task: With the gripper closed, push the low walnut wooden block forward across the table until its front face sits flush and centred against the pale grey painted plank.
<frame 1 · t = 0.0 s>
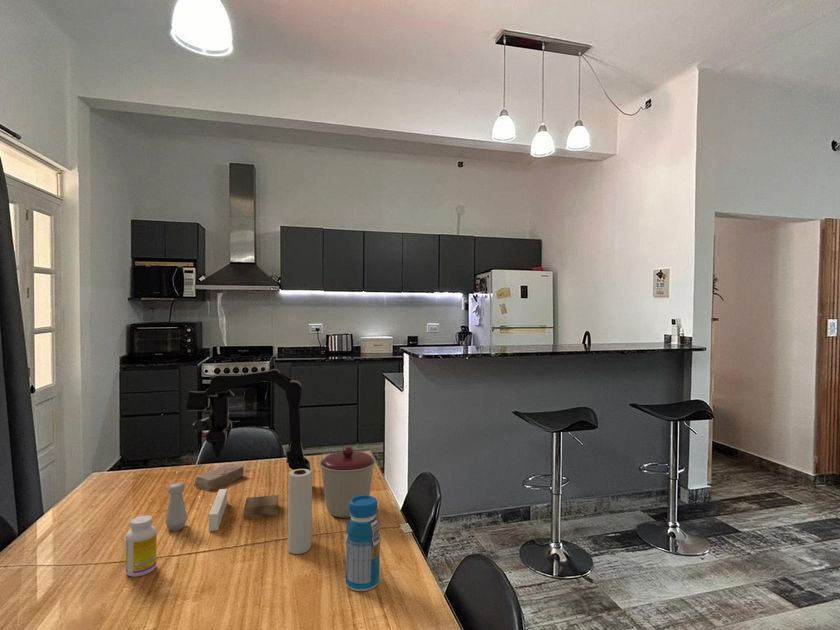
hand: (219, 453, 164), 15 cm above the table, tool pointing down, fingers open, 9 cm apart
supplement bottle: (141, 571, 116), on the table
paper towel roll: (301, 549, 128), on the table
salt shaker: (176, 528, 139), on the table
plank: (218, 516, 147), on the table
brick: (219, 483, 177), on the table
beverage bottle: (362, 583, 112), on the table
walnut block: (261, 513, 150), on the table
canister: (347, 511, 152), on the table
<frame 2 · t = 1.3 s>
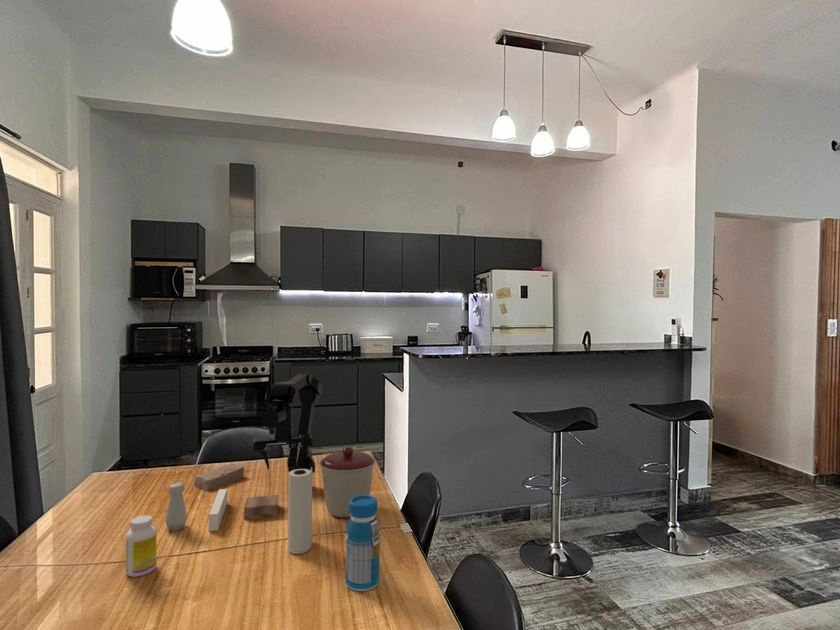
hand: (282, 467, 154), 13 cm above the table, tool pointing down, fingers open, 9 cm apart
nothing on the table moved.
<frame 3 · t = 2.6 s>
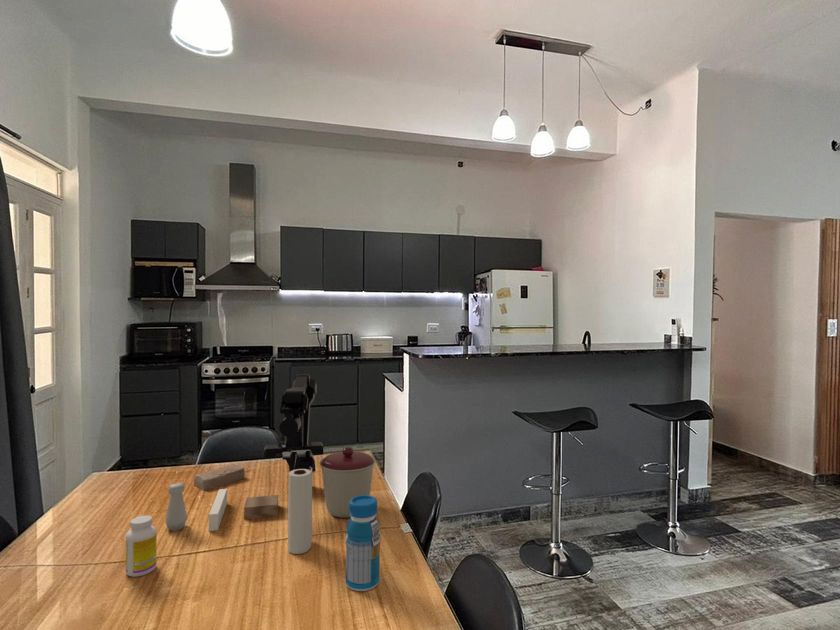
hand: (293, 475, 153), 11 cm above the table, tool pointing down, fingers closed
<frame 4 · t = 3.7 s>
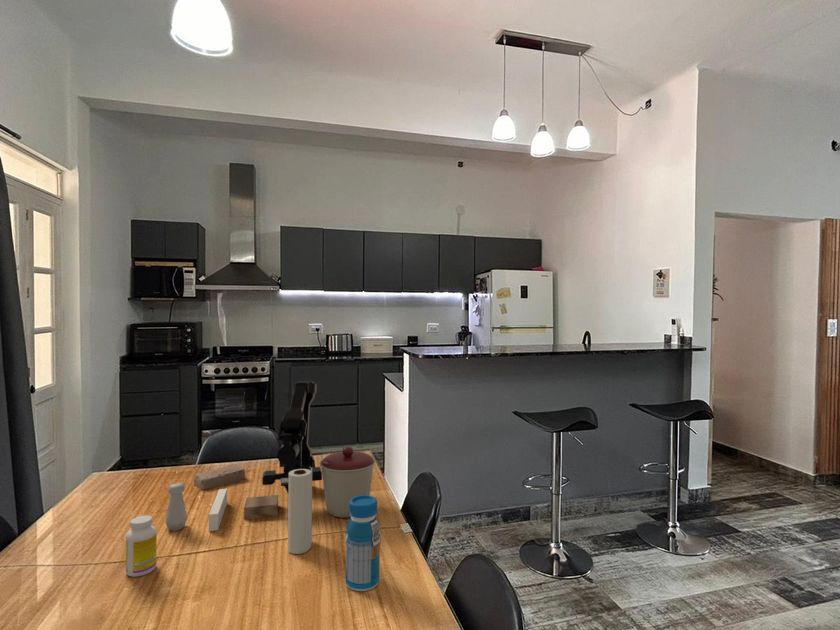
hand: (292, 501, 153), 3 cm above the table, tool pointing down, fingers closed
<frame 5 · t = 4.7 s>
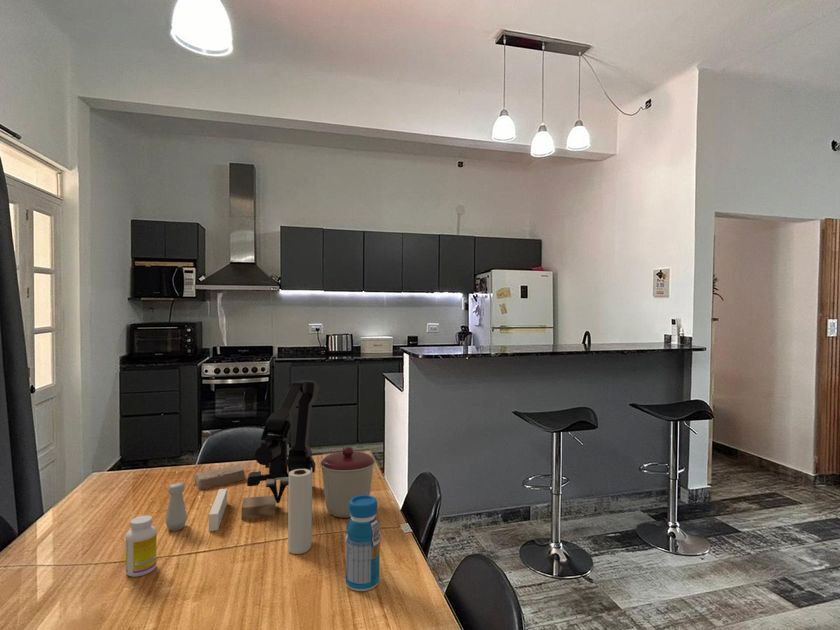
hand: (278, 502, 152), 3 cm above the table, tool pointing down, fingers closed
walnut block: (259, 513, 150), on the table, touching gripper
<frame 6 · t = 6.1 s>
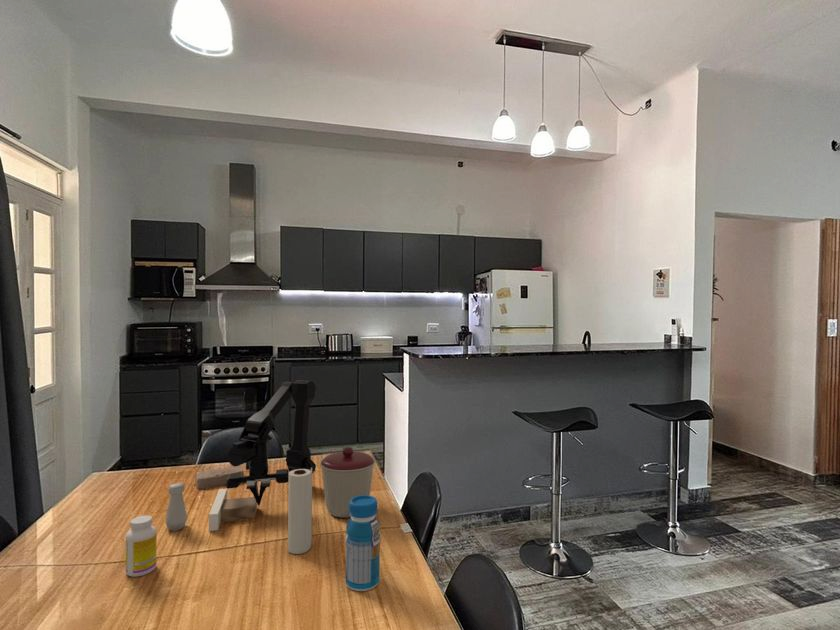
hand: (258, 504, 150), 3 cm above the table, tool pointing down, fingers closed
walnut block: (239, 515, 148), on the table, touching gripper, plank
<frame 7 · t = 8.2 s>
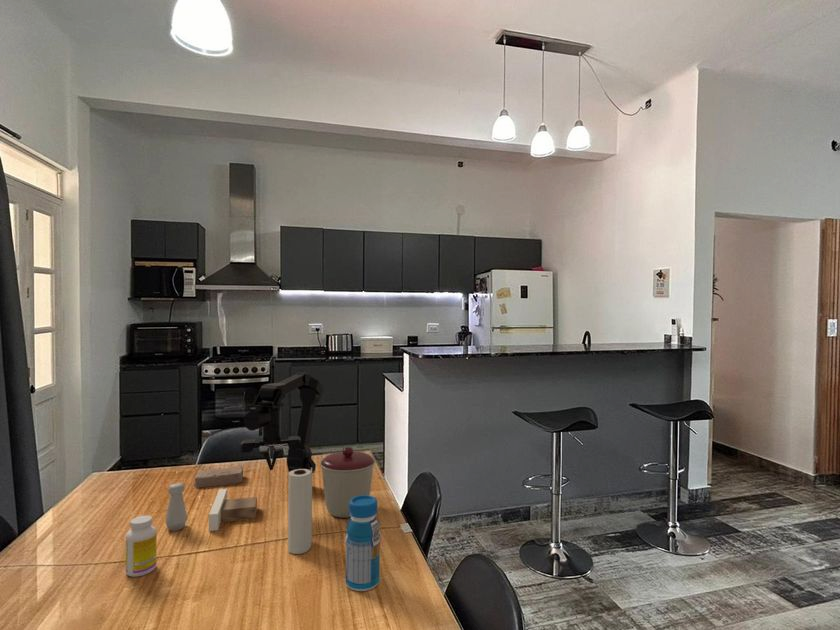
hand: (271, 469, 153), 13 cm above the table, tool pointing down, fingers closed
walnut block: (239, 515, 148), on the table
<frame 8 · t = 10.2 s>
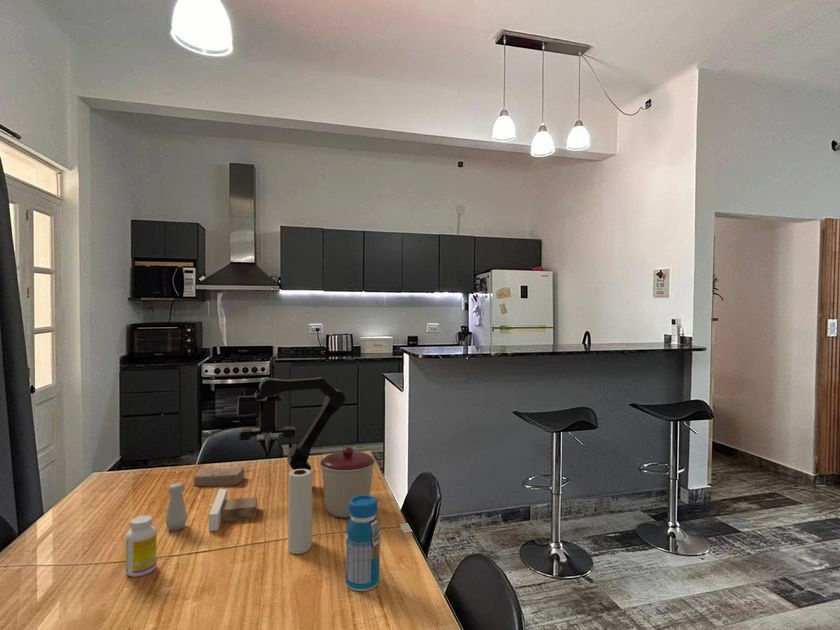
hand: (267, 457, 166), 13 cm above the table, tool pointing down, fingers closed
at the end: walnut block 0.2 cm from the target spot on the table beside the plank, on the table; walnut block tilted 0° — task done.
